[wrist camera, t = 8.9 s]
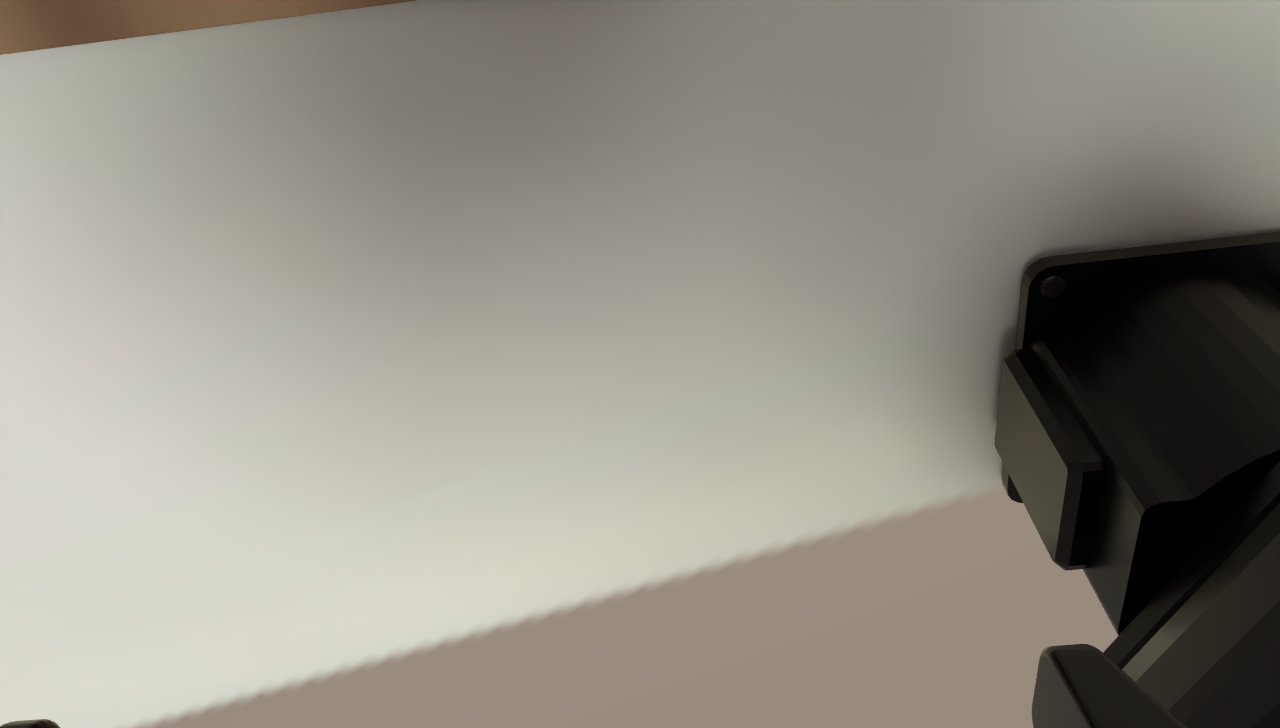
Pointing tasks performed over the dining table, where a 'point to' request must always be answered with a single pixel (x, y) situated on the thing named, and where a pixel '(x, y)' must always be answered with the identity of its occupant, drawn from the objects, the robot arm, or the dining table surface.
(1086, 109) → the dining table surface
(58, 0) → the brown tray
